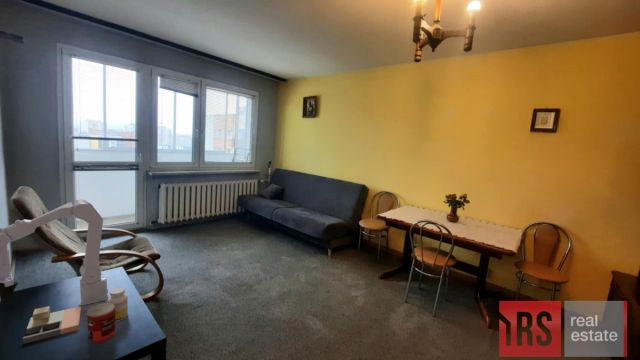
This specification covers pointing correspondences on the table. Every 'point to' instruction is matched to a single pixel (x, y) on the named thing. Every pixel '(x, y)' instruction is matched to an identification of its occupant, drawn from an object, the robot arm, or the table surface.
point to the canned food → (101, 322)
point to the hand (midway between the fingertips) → (1, 299)
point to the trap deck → (54, 325)
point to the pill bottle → (119, 303)
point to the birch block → (41, 315)
